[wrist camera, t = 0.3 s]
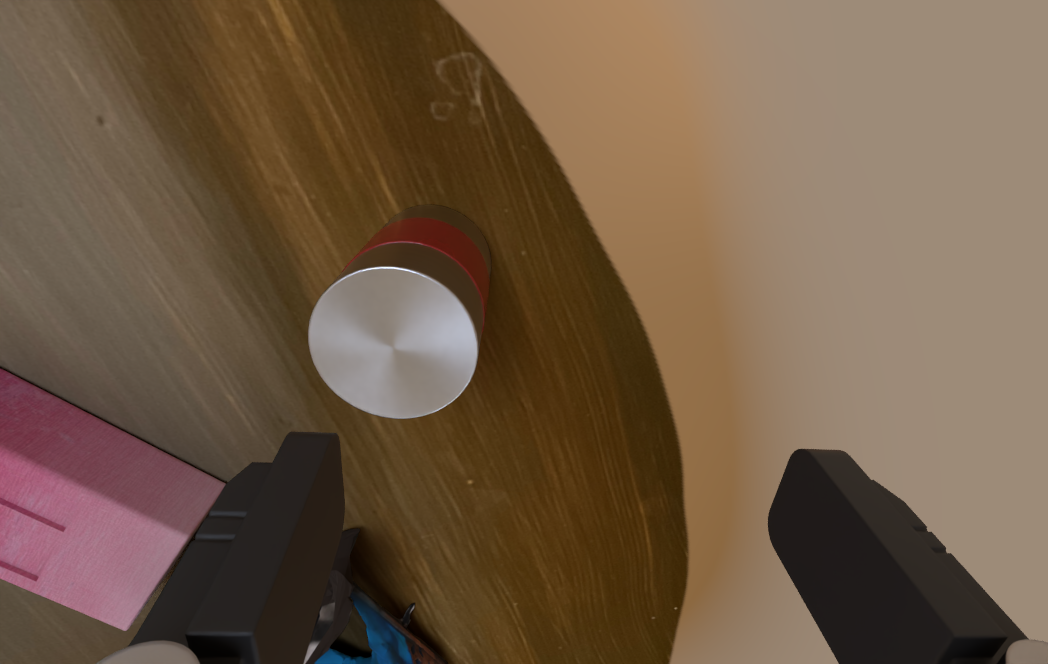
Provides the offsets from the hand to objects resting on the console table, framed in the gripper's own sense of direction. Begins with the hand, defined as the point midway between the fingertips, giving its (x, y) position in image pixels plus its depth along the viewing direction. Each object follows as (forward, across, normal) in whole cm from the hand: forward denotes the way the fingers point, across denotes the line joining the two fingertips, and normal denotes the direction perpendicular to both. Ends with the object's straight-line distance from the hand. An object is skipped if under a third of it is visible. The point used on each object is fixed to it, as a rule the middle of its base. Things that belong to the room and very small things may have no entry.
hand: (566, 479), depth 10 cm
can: (+20, +4, +4) cm, 21 cm away
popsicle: (+21, +27, +17) cm, 38 cm away
